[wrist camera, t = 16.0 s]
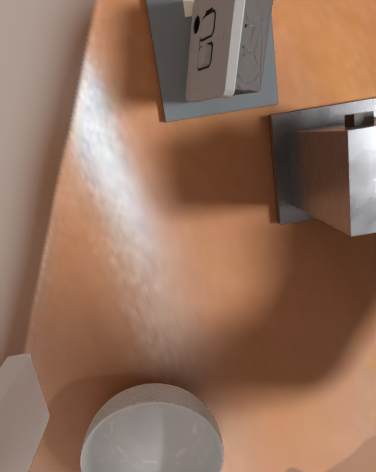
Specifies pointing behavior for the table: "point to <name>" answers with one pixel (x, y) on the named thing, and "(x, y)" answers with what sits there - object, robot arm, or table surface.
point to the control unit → (326, 166)
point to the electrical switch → (227, 48)
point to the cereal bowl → (153, 433)
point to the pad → (176, 65)
